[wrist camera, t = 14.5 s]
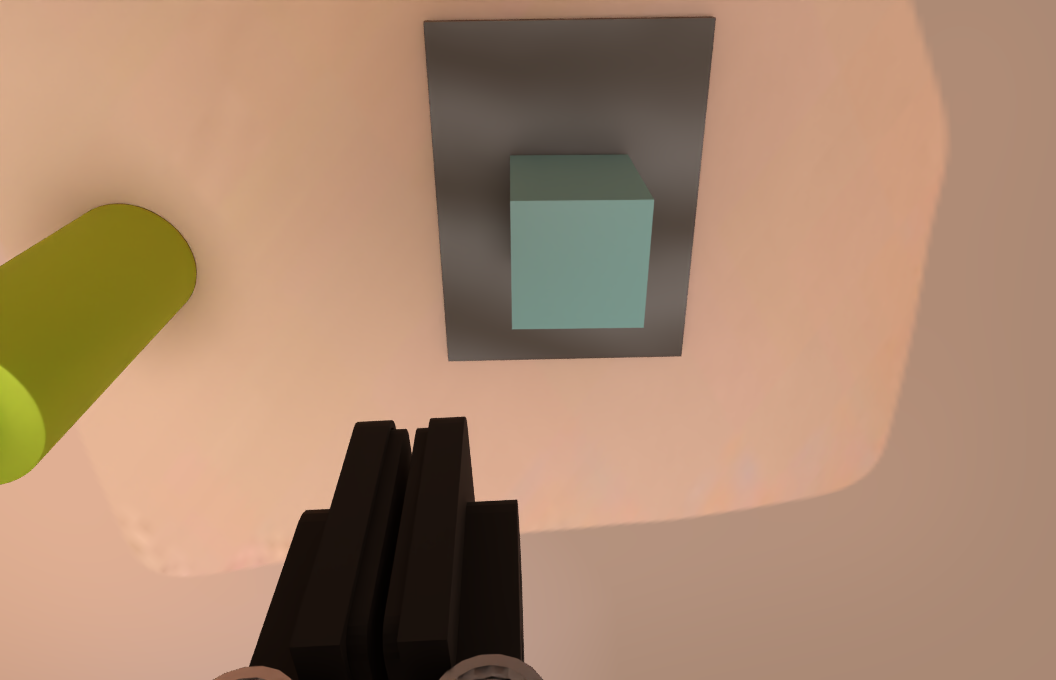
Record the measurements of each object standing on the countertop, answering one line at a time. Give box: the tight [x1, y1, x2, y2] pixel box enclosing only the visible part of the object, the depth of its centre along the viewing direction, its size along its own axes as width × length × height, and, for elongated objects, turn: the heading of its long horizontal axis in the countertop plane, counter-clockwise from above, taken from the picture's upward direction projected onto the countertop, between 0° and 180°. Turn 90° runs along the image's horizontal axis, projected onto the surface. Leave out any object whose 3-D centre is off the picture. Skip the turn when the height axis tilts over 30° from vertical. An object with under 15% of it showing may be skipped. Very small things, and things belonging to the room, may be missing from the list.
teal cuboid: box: [510, 154, 654, 329], centre depth 30 cm, size 5×5×7 cm
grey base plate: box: [424, 17, 716, 361], centre depth 31 cm, size 16×12×7 cm
